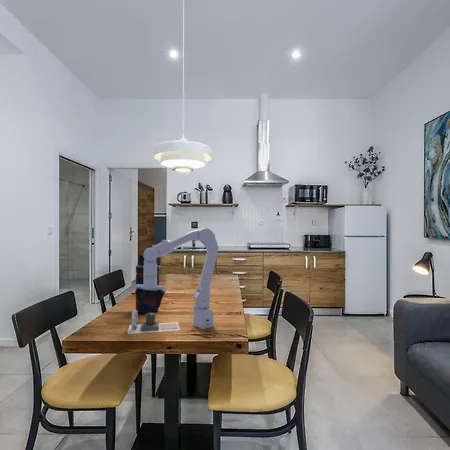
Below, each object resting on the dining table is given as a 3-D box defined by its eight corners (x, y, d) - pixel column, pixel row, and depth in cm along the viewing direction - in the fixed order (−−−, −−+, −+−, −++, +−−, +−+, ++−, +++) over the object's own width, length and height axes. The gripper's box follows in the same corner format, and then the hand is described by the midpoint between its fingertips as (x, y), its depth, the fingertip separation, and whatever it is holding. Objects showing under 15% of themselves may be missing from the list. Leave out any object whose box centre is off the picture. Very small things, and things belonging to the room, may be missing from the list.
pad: (176, 323, 144) (176, 323, 144) (177, 328, 137) (177, 328, 137) (160, 324, 142) (160, 324, 142) (160, 329, 135) (160, 329, 135)
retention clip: (131, 327, 137) (131, 310, 137) (137, 327, 138) (137, 309, 138) (131, 337, 124) (132, 318, 124) (138, 337, 125) (138, 318, 125)
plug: (157, 328, 137) (157, 314, 138) (147, 329, 135) (148, 315, 135) (152, 325, 141) (152, 312, 141) (143, 327, 138) (143, 313, 138)
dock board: (178, 323, 146) (178, 318, 146) (180, 332, 135) (180, 326, 135) (129, 326, 142) (129, 321, 142) (127, 335, 130) (127, 330, 130)
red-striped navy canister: (163, 311, 167) (163, 254, 168) (144, 315, 159) (144, 255, 159) (148, 306, 177) (148, 252, 177) (129, 310, 168) (129, 254, 168)
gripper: (169, 275, 139) (169, 305, 139) (140, 273, 144) (140, 303, 144) (161, 277, 133) (161, 309, 133) (131, 275, 137) (131, 307, 137)
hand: (150, 306), depth 138 cm, fingers open, 7 cm apart
